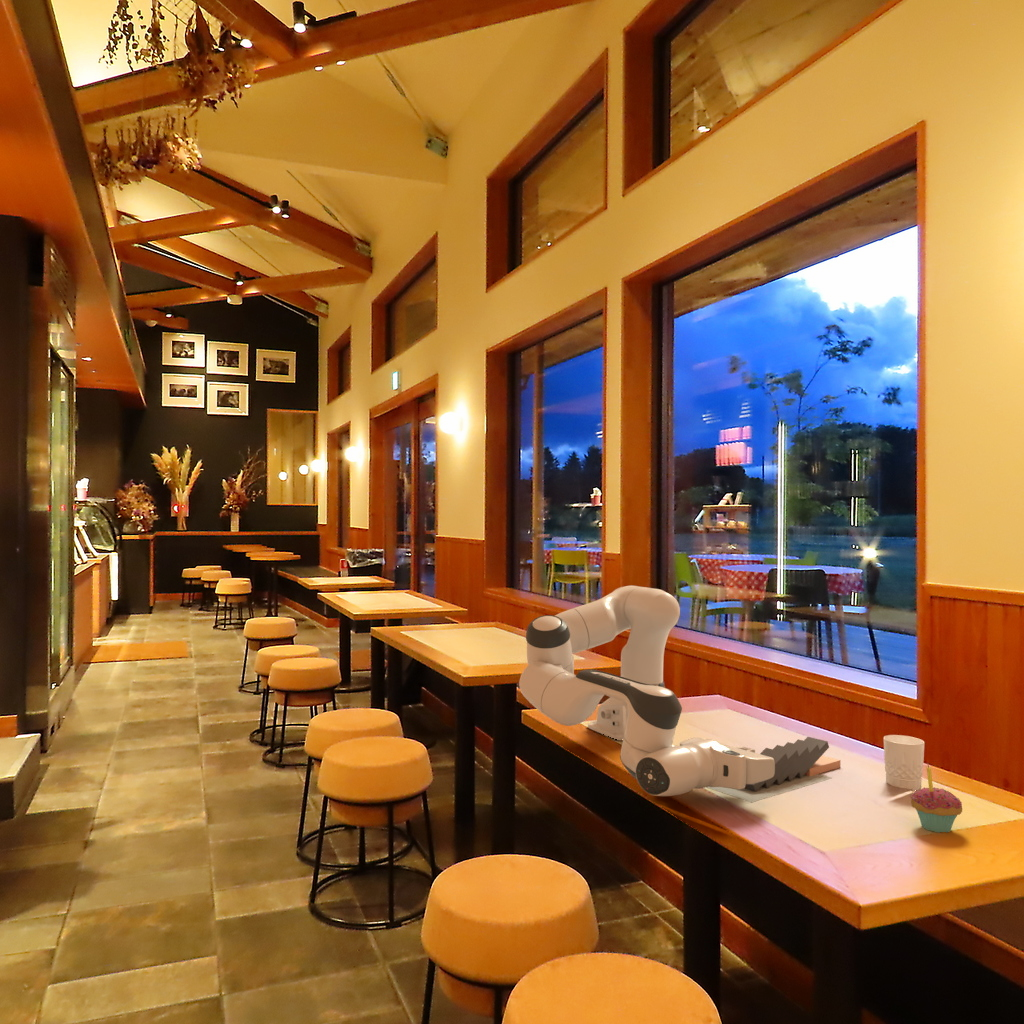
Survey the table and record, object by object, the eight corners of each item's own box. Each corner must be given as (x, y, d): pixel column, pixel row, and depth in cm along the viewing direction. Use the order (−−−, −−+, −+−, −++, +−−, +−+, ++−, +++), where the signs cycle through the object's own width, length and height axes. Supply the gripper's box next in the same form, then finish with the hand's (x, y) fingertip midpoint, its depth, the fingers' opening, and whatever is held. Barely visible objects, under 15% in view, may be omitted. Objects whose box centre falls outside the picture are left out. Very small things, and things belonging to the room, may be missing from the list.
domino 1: (733, 779, 171) (766, 747, 177) (735, 785, 171) (767, 753, 178) (753, 785, 167) (786, 753, 173) (755, 792, 167) (787, 759, 174)
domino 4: (768, 769, 178) (798, 739, 184) (770, 775, 178) (799, 745, 185) (788, 775, 174) (817, 744, 180) (790, 781, 174) (819, 750, 181)
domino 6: (790, 763, 182) (820, 755, 190) (789, 770, 182) (820, 761, 190) (809, 768, 178) (840, 760, 186) (809, 776, 178) (840, 767, 186)
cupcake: (939, 839, 144) (939, 771, 145) (899, 823, 152) (899, 758, 152) (972, 832, 148) (973, 766, 148) (932, 817, 156) (932, 754, 156)
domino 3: (757, 772, 175) (787, 742, 182) (759, 779, 176) (789, 748, 182) (777, 778, 171) (807, 747, 178) (779, 785, 172) (809, 753, 178)
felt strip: (703, 789, 170) (704, 786, 170) (784, 767, 187) (784, 764, 187) (751, 805, 161) (751, 802, 161) (832, 780, 177) (832, 777, 177)
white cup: (929, 793, 169) (929, 745, 170) (888, 790, 171) (888, 743, 171) (918, 782, 177) (918, 736, 177) (879, 779, 179) (879, 733, 179)
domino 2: (745, 776, 173) (777, 744, 180) (747, 782, 173) (778, 751, 180) (765, 782, 169) (797, 750, 176) (767, 788, 169) (798, 756, 176)
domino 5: (779, 766, 180) (807, 736, 187) (780, 772, 180) (809, 742, 187) (799, 772, 176) (827, 741, 183) (800, 778, 176) (829, 747, 183)
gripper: (666, 766, 170) (709, 755, 178) (747, 792, 154) (791, 779, 162) (666, 735, 170) (710, 726, 178) (747, 758, 154) (791, 747, 162)
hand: (749, 751), depth 170 cm, fingers closed
